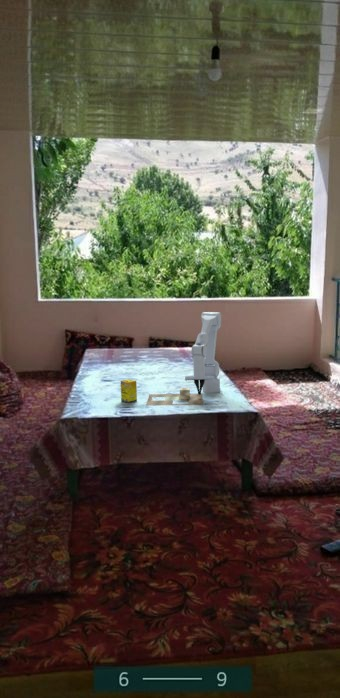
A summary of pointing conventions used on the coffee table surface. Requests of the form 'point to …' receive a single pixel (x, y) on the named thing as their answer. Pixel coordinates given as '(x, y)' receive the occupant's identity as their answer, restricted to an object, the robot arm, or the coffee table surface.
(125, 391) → the supplement box
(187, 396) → the block
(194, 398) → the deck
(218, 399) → the coffee table surface
